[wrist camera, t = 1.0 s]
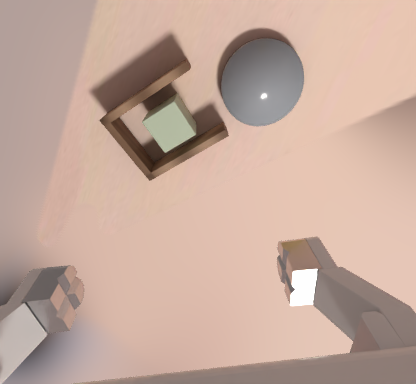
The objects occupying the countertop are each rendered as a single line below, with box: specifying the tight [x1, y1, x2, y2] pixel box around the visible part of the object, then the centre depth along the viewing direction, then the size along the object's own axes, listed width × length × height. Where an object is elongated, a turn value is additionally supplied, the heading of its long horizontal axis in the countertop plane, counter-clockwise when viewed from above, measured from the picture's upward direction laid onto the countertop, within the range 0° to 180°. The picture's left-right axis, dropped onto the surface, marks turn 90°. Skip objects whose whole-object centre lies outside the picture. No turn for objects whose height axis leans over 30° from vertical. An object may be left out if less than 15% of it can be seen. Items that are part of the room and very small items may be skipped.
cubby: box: [100, 59, 229, 181], centre depth 37 cm, size 14×11×4 cm
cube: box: [142, 93, 196, 153], centre depth 36 cm, size 5×5×5 cm
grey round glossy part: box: [221, 38, 304, 126], centre depth 36 cm, size 11×11×1 cm
